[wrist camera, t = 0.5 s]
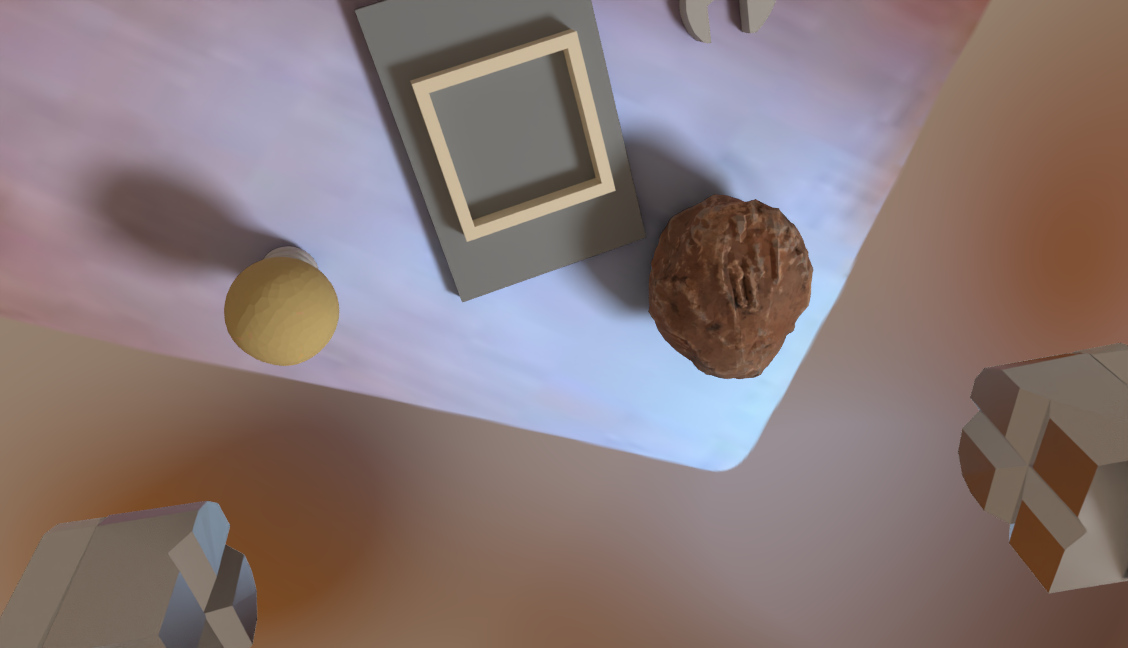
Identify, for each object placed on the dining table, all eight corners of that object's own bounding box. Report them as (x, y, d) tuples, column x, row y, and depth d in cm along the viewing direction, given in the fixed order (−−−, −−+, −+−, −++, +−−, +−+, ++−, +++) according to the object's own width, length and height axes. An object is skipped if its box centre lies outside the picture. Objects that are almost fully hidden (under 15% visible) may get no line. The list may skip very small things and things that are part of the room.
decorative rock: (729, 352, 65) (789, 416, 56) (605, 324, 61) (649, 387, 52) (797, 201, 61) (873, 244, 52) (668, 160, 57) (727, 199, 48)
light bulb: (220, 283, 53) (195, 350, 44) (270, 205, 51) (255, 258, 43) (307, 329, 55) (300, 400, 47) (358, 256, 54) (360, 315, 45)
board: (354, 9, 48) (355, 12, 46) (573, -59, 49) (583, -59, 47) (460, 297, 57) (464, 311, 55) (641, 233, 59) (653, 244, 56)
